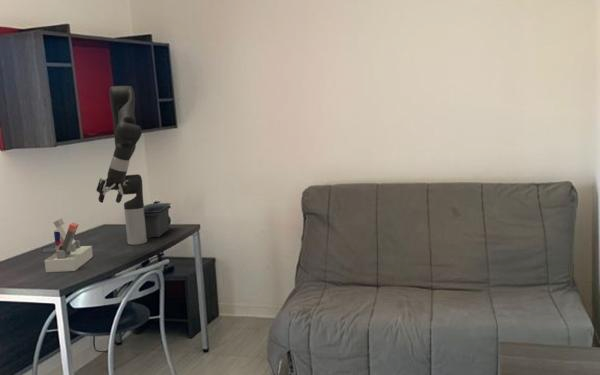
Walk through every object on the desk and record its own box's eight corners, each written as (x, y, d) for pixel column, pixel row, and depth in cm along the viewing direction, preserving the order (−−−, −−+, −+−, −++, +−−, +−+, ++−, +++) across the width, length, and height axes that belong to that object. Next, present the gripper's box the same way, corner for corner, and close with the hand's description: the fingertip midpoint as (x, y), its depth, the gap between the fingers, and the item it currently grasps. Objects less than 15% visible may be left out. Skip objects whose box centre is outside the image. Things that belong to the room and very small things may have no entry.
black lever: (62, 253, 255) (73, 222, 253) (67, 255, 255) (78, 224, 253) (58, 255, 251) (69, 224, 249) (63, 257, 251) (75, 226, 249)
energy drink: (55, 258, 271) (52, 232, 269) (57, 255, 276) (55, 229, 274) (68, 256, 272) (65, 231, 270) (70, 254, 277) (67, 228, 275)
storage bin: (161, 238, 298) (159, 210, 296) (131, 239, 300) (128, 211, 298) (175, 229, 319) (172, 202, 317) (146, 230, 321) (144, 203, 319)
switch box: (66, 258, 270) (64, 240, 269) (92, 256, 270) (90, 238, 269) (45, 272, 248) (43, 253, 247) (74, 270, 248) (72, 251, 247)
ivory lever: (74, 248, 266) (57, 220, 264) (78, 246, 266) (61, 218, 264) (70, 251, 262) (53, 222, 260) (75, 248, 262) (57, 220, 260)
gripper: (127, 165, 267) (118, 199, 271) (99, 163, 256) (90, 198, 259) (137, 171, 263) (127, 205, 266) (109, 169, 252) (99, 205, 255)
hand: (109, 202), depth 263 cm, fingers open, 8 cm apart
